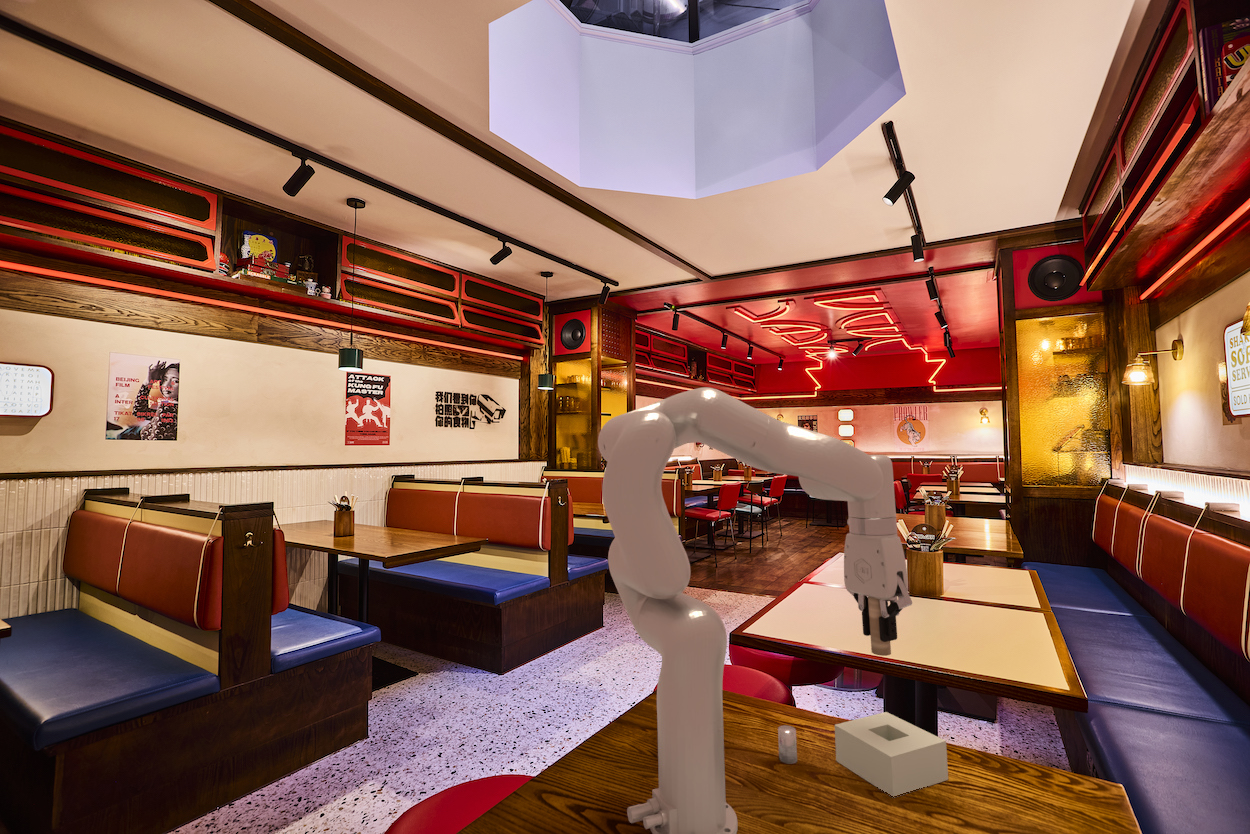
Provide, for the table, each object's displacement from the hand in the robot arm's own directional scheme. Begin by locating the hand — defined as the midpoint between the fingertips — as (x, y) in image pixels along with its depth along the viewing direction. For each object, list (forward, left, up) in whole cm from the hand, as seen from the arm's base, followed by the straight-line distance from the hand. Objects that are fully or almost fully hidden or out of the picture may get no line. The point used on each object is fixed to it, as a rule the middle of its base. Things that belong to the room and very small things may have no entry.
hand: (880, 636), depth 97 cm
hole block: (+1, 0, -22) cm, 22 cm away
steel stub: (-12, +10, -22) cm, 27 cm away
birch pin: (0, 0, -3) cm, 3 cm away
